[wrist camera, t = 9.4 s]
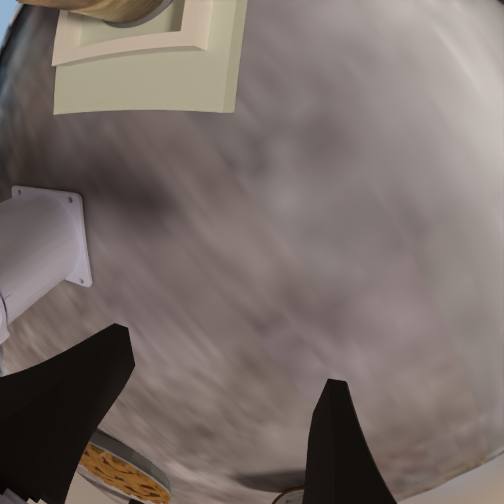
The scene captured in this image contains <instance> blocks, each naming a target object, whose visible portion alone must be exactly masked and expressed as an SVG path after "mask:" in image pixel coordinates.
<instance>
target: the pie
mask: <svg viewBox="0 0 504 504" xmlns="http://www.w3.org/2000/svg"><path fill="white" fill-rule="evenodd" d="M79 464H81V465H83V466H84V467H86V468H87V469H88V471H89V472H91V473H92V474H94V475H95V476H97V477H99V478H101V479H102V480H103V481H104V482H105V483H107V484H109V485H110V486H114V487H116V488H118V489H120V490H122V491H124V492H125V493H127V494H128V495H131V494H132V495H134V496H137V497H138V498H139V499H141V500H145V501H146V500H150V501H152V502H154V503H157V504H160V503H161V502H162V503H164V504H168V502H169V501H171V499H172V498H173V495H172V494H171V489H170V481H169V480H168V478H167V477H166V475H165V474H164V473H163V472H162V471H161V470H160V469H159V468H157V467H156V466H155V465H154V464H153V463H152V462H151V461H149V460H148V459H146V458H145V457H143V456H142V455H140V454H139V453H138V452H136V451H135V450H133V449H131V448H129V447H127V446H125V445H123V444H121V443H120V442H118V441H116V440H114V439H111V438H109V437H107V436H104V435H102V434H100V433H98V432H95V431H94V433H93V435H92V436H91V438H90V440H89V442H88V444H87V446H86V448H85V450H84V452H83V455H82V457H81V459H80V461H79Z"/></svg>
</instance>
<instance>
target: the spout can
mask: <svg viewBox="0 0 504 504" xmlns="http://www.w3.org/2000/svg"><path fill="white" fill-rule="evenodd" d="M16 1H18V2H19V3H25V4H32V5H38V6H44V7H50V8H56V9H61V10H66V11H70V12H75V13H79V14H83V15H88V16H92V17H95V18H99V19H103V20H107V21H110V22H114V23H118V24H127V23H132V22H135V21H138V20H140V19H142V18H144V17H146V16H147V15H149V14H150V13H152V12H153V11H154V10H155V9H156V8H157V7H158V6H159V5H160V4H161V3H162V2H163V1H164V0H16Z"/></svg>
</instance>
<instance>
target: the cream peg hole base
mask: <svg viewBox="0 0 504 504" xmlns="http://www.w3.org/2000/svg"><path fill="white" fill-rule="evenodd" d="M247 2H248V0H164V1H163V2H162V3H161V4H160V5H159V6H158V7H157V8H156V9H155V10H154V11H153V12H152V13H150V14H149V15H147V16H146V17H144V18H142V19H140V20H138V21H135V22H132V23H127V24H118V23H114V22H110V21H107V20H103V19H99V18H95V17H92V16H88V15H83V14H79V13H75V12H70V11H66V10H61V9H60V14H59V19H58V25H57V31H56V37H55V44H54V51H53V60H52V66H57V68H56V80H55V94H54V115H56V114H66V113H77V112H91V111H110V110H187V111H206V112H221V113H234V109H235V99H236V90H237V81H238V73H239V64H240V56H241V48H242V40H243V32H244V24H245V16H246V9H247Z"/></svg>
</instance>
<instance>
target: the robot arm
mask: <svg viewBox="0 0 504 504" xmlns="http://www.w3.org/2000/svg"><path fill="white" fill-rule="evenodd" d="M71 198H72V200H71ZM63 279H65V280H68V281H71V282H74V283H77V284H79V285H82V286H85V287H90V286H91V285H92V277H91V271H90V265H89V258H88V251H87V243H86V235H85V226H84V216H83V205H82V197H81V195H80V194H78V193H74V192H66V191H58V190H51V189H43V188H34V187H26V186H18V185H16V186H13V187H12V198H10V199H8V200H5V201H3V202H1V203H0V364H1V362H2V358H3V346H2V343H3V342H4V341H5V340H6V339H7V338H8V337H9V336H10V334H9V332H8V329H7V326H8V325H9V324H10V323H11V322H12V321H13V320H15V319H16V318H17V317H18V316H19V315H20V314H22V313H23V312H24V311H25V310H26V309H27V308H29V307H30V306H31V305H32V304H33V303H35V302H36V301H37V300H38V299H40V298H41V297H42V296H43V295H45V294H46V293H47V292H48V291H49V290H51V289H52V288H53V287H55V286H56V285H57V284H58V283H60V282H61V281H62V280H63ZM134 367H135V362H134V357H133V352H132V347H131V341H130V336H129V330H128V328H127V327H124V326H121V325H119V324H116V323H114V324H112V325H110V326H108V327H107V328H105V329H103V330H101V331H100V332H98V333H96V334H94V335H93V336H91V337H89V338H88V339H86V340H84V341H82V342H81V343H79V344H77V345H75V346H73V347H72V348H70V349H68V350H66V351H64V352H62V353H60V354H58V355H56V356H54V357H52V358H50V359H48V360H46V361H44V362H42V363H40V364H38V365H35V366H33V367H30V368H28V369H25V370H23V371H20V372H17V373H13V374H10V375H7V376H3V377H0V504H28V503H26V502H27V501H28V499H29V498H30V499H32V500H33V501H34V502H36V503H38V501H39V500H40V499H42V500H43V501H44V502H46V503H47V504H64V503H65V500H66V497H67V494H68V490H69V487H70V484H71V481H72V479H73V476H74V473H75V471H76V468H77V466H78V464H79V461H80V459H81V457H82V455H83V452H84V450H85V448H86V446H87V444H88V442H89V440H90V438H91V436H92V435H93V433H94V431H95V430H96V428H97V426H98V425H99V423H100V422H101V421H102V419H103V418H104V416H105V415H106V413H107V412H108V410H109V409H110V407H111V406H112V405H113V403H114V402H115V400H116V399H117V397H118V396H119V394H120V393H121V391H122V390H123V388H124V387H125V385H126V383H127V381H128V379H129V377H130V375H131V373H132V371H133V369H134ZM302 504H397V502H396V501H395V499H394V498H393V496H392V494H391V492H390V491H389V489H388V487H387V486H386V484H385V482H384V480H383V478H382V476H381V474H380V472H379V470H378V468H377V466H376V464H375V462H374V459H373V457H372V455H371V452H370V450H369V448H368V445H367V443H366V440H365V437H364V435H363V432H362V429H361V427H360V424H359V421H358V418H357V415H356V412H355V409H354V405H353V402H352V399H351V395H350V391H349V388H348V384H347V382H346V381H341V380H334V379H328V380H327V382H326V385H325V387H324V389H323V392H322V394H321V396H320V398H319V401H318V403H317V405H316V407H315V410H314V412H313V416H312V421H311V427H310V432H309V438H308V450H307V462H306V474H305V485H304V494H303V500H302Z"/></svg>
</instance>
